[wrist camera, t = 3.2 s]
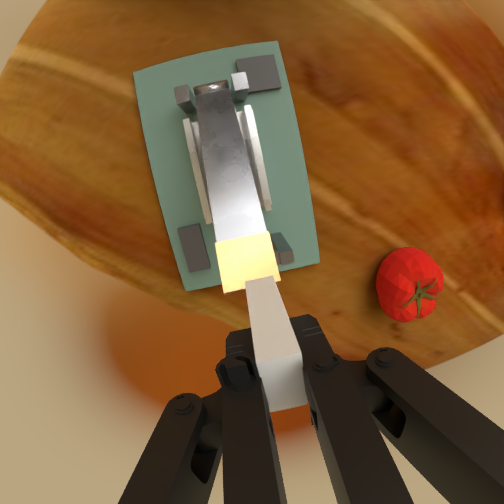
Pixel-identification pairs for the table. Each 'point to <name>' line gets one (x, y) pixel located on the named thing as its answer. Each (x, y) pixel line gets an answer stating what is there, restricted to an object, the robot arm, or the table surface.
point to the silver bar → (253, 150)
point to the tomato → (408, 284)
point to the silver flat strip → (232, 192)
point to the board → (271, 142)
